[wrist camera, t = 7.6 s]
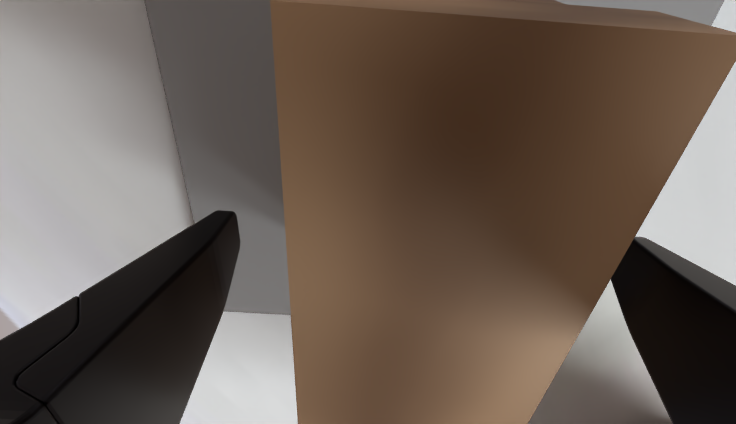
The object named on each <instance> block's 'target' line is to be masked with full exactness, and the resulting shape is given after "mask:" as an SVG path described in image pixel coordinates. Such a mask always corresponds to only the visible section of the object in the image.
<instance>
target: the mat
mask: <svg viewBox="0 0 736 424" xmlns="http://www.w3.org/2000/svg"><path fill="white" fill-rule="evenodd" d="M144 1H145V5H146V10H147V14H148V19H149V23H150V28H151V32H152V37H153V41H154V45H155V50H156V54H157V59H158V63H159V68H160V72H161V77H162V81H163V86H164V90H165V95H166V99H167V104H168V108H169V113H170V117H171V122H172V126H173V131H174V135H175V139H176V144H177V148H178V153H179V157H180V162H181V166H182V171H183V175H184V180H185V184H186V189H187V193H188V198H189V202H190V207H191V211H192V216H193V220H194V224H195V223H196V222H198V221H200V220H201V219H203V218H205V217H206V216H208V215H209V214H211V213H213V212H214V211H217V210H224V211H234V212H235V213H236V215H237V220H238V227H239V234H240V250H239V254H238V258H237V262H236V266H235V270H234V274H233V278H232V282H231V286H230V290H229V294H228V298H227V301H226V305H225V308H224V311H228V312H246V313H265V314H283V315H291V310H290V295H289V280H288V265H287V249H286V234H285V219H284V204H283V189H282V174H281V159H280V143H279V128H278V113H277V98H276V83H275V68H274V53H273V37H272V22H271V7H270V0H144ZM555 1H558V2H561V3H564V4H568V5H581V6H594V7H607V8H620V9H633V10H646V11H657V12H661V13H665V14H668V15H672V16H676V17H679V18H683V19H687V20H690V21H694V22H698V23H702V24H705V25H709V26H711V25H712V23H713V21H714V19H715V17H716V16H717V14H718V12H719V10H720V8H721V6H722V4H723V2H724V0H555Z"/></svg>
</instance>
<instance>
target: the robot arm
mask: <svg viewBox="0 0 736 424" xmlns="http://www.w3.org/2000/svg"><path fill="white" fill-rule="evenodd" d="M239 250H240V234H239V227H238V220H237V215H236V213H235V212H234V211H224V210H217V211H214V212H213V213H211V214H209V215H208V216H206V217H205V218H203V219H201V220H200V221H198V222H196V223H195V224H193V225H191V226H190V227H188V228H187V229H185V230H183V231H182V232H180V233H178V234H177V235H175V236H173V237H172V238H170V239H169V240H167V241H165V242H164V243H162V244H160V245H159V246H157V247H155V248H154V249H152V250H151V251H149V252H147V253H146V254H144V255H142V256H141V257H139V258H137V259H136V260H134V261H133V262H131V263H129V264H128V265H126V266H124V267H123V268H121V269H119V270H118V271H116V272H115V273H113V274H111V275H110V276H108V277H106V278H105V279H103V280H101V281H100V282H98V283H96V284H95V285H93V286H92V287H90V288H88V289H87V290H85V291H83V292H82V293H80V294H79V297H78V296H75V297H73V298H72V299H70V300H68V301H67V302H65V303H64V304H62V305H60V306H59V307H57V308H55V309H54V310H52V311H50V312H49V313H47V314H45V315H43V316H42V317H40V318H38V319H37V320H35V321H33V322H32V323H30V324H28V325H26V326H25V327H23V328H21V329H19V330H17V331H16V332H14V333H12V334H10V335H8V336H6V337H5V338H3V339H1V340H0V424H179V423H180V421H181V418H182V416H183V413H184V411H185V408H186V406H187V403H188V400H189V398H190V395H191V393H192V390H193V388H194V385H195V383H196V380H197V378H198V375H199V372H200V370H201V367H202V365H203V362H204V360H205V357H206V355H207V352H208V349H209V347H210V344H211V342H212V339H213V337H214V334H215V332H216V329H217V326H218V324H219V321H220V319H221V316H222V314H223V311H224V308H225V305H226V301H227V298H228V294H229V290H230V286H231V282H232V278H233V274H234V270H235V266H236V262H237V258H238V254H239ZM611 281H612V284H613V287H614V290H615V293H616V295H617V298H618V301H619V304H620V307H621V310H622V313H623V316H624V318H625V321H626V324H627V326H628V329H629V331H630V334H631V336H632V338H633V340H634V343H635V345H636V347H637V349H638V351H639V353H640V355H641V357H642V359H643V362H644V364H645V366H646V368H647V370H648V372H649V374H650V376H651V379H652V381H653V383H654V385H655V387H656V389H657V391H658V393H659V396H660V398H661V400H662V402H663V404H664V406H665V408H666V410H667V412H668V415H669V417H670V419H671V421H672V423H673V424H736V286H735V285H733V284H731V283H729V282H728V281H726V280H724V279H722V278H720V277H718V276H716V275H714V274H713V273H711V272H709V271H707V270H705V269H703V268H701V267H699V266H697V265H696V264H694V263H692V262H690V261H688V260H686V259H684V258H682V257H681V256H679V255H677V254H675V253H673V252H671V251H669V250H667V249H666V248H664V247H662V246H660V245H658V244H656V243H654V242H652V241H650V240H649V239H647V238H643V237H634V239H633V241H632V242H631V244H630V246H629V248H628V249H627V251H626V253H625V255H624V256H623V258H622V260H621V262H620V263H619V265H618V267H617V269H616V270H615V272H614V274H613V276H612V277H611Z"/></svg>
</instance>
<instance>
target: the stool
mask: <svg viewBox="0 0 736 424" xmlns="http://www.w3.org/2000/svg"><path fill="white" fill-rule="evenodd" d="M270 7H271V22H272V37H273V53H274V68H275V83H276V98H277V113H278V128H279V143H280V159H281V174H282V189H283V204H284V219H285V234H286V249H287V265H288V280H289V295H290V310H291V325H292V340H293V355H294V371H295V386H296V401H297V416H298V424H528V422H529V420H530V419H531V417H532V415H533V413H534V412H535V410H536V408H537V406H538V405H539V403H540V401H541V400H542V398H543V396H544V394H545V393H546V391H547V389H548V387H549V386H550V384H551V382H552V380H553V379H554V377H555V375H556V373H557V372H558V370H559V368H560V366H561V365H562V363H563V361H564V359H565V358H566V356H567V354H568V352H569V351H570V349H571V347H572V345H573V344H574V342H575V340H576V338H577V337H578V335H579V333H580V331H581V330H582V328H583V326H584V324H585V323H586V321H587V319H588V318H589V316H590V314H591V312H592V311H593V309H594V307H595V305H596V304H597V302H598V300H599V298H600V297H601V295H602V293H603V291H604V290H605V288H606V286H607V284H608V283H609V281H610V279H611V277H612V276H613V274H614V272H615V270H616V269H617V267H618V265H619V263H620V262H621V260H622V258H623V256H624V255H625V253H626V251H627V249H628V248H629V246H630V244H631V242H632V241H633V239H634V237H635V236H636V234H637V232H638V230H639V229H640V227H641V225H642V223H643V222H644V220H645V218H646V216H647V215H648V213H649V211H650V209H651V208H652V206H653V204H654V202H655V201H656V199H657V197H658V195H659V194H660V192H661V190H662V188H663V187H664V185H665V183H666V181H667V180H668V178H669V176H670V174H671V173H672V171H673V169H674V167H675V166H676V164H677V162H678V161H679V159H680V157H681V155H682V154H683V152H684V150H685V148H686V147H687V145H688V143H689V141H690V140H691V138H692V136H693V134H694V133H695V131H696V129H697V127H698V126H699V124H700V122H701V120H702V119H703V117H704V115H705V113H706V112H707V110H708V108H709V106H710V105H711V103H712V101H713V99H714V98H715V96H716V94H717V92H718V91H719V89H720V87H721V85H722V84H723V82H724V80H725V79H726V77H727V75H728V73H729V72H730V70H731V68H732V66H733V65H734V63H735V61H736V33H735V32H731V31H728V30H724V29H720V28H716V27H713V26H709V25H705V24H702V23H698V22H694V21H690V20H687V19H683V18H679V17H676V16H672V15H668V14H665V13H661V12H657V11H646V10H633V9H620V8H607V7H594V6H581V5H568V4H564V3H561V2H558V1H555V0H270Z"/></svg>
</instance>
